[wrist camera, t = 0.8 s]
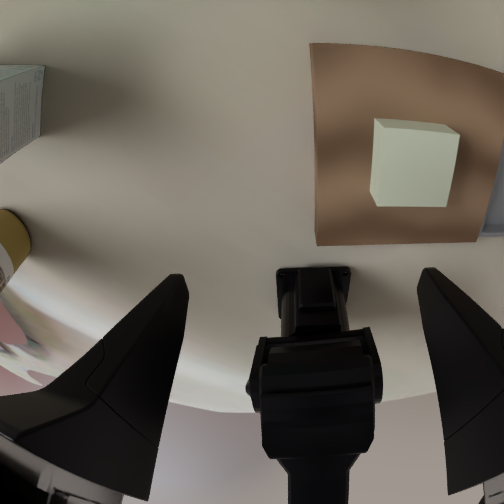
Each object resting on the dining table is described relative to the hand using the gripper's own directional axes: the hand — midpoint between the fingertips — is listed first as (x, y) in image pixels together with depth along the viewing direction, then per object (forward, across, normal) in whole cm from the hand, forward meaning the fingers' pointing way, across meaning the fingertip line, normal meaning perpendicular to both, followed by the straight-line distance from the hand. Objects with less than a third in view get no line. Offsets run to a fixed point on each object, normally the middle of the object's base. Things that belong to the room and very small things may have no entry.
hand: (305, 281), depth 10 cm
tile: (+11, -7, 0) cm, 13 cm away
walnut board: (+13, -8, 0) cm, 15 cm away
